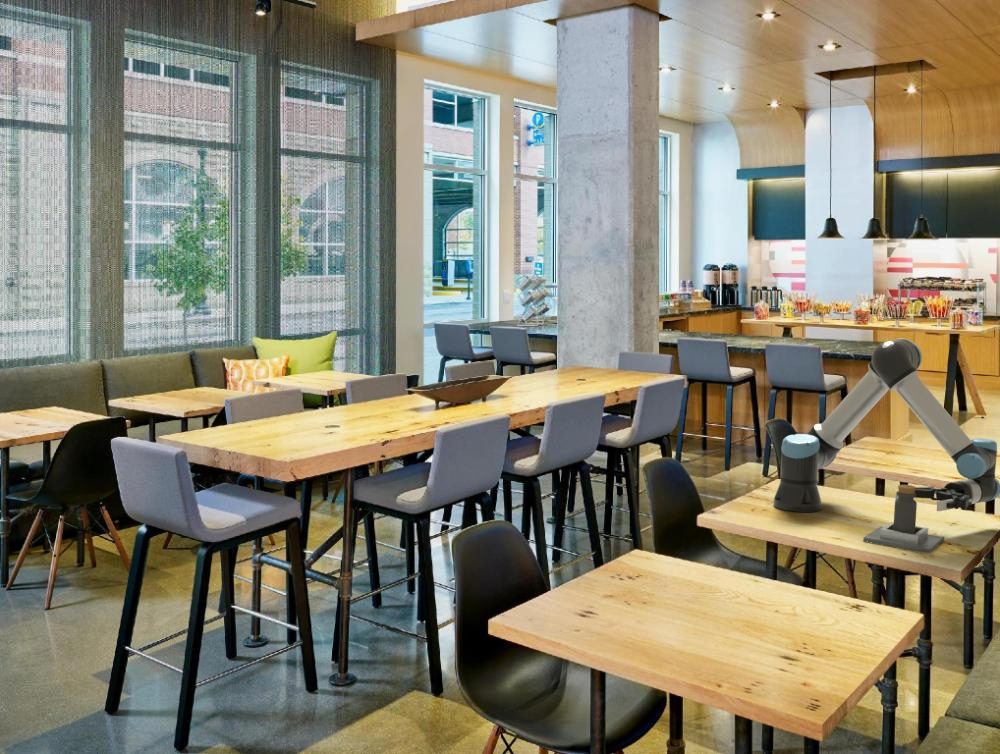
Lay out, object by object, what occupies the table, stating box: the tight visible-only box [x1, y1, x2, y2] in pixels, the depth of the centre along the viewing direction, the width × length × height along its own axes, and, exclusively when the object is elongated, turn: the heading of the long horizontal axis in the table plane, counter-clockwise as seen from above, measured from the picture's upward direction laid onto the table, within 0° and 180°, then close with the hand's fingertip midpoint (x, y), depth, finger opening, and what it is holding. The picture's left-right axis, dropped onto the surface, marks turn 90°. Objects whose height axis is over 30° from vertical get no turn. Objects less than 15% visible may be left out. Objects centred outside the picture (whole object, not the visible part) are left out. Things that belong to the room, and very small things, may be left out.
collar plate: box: [862, 521, 945, 554], centre depth 284 cm, size 18×16×4 cm
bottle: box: [893, 484, 918, 534], centre depth 283 cm, size 6×6×15 cm
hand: (916, 501), depth 285 cm, fingers open, 13 cm apart
